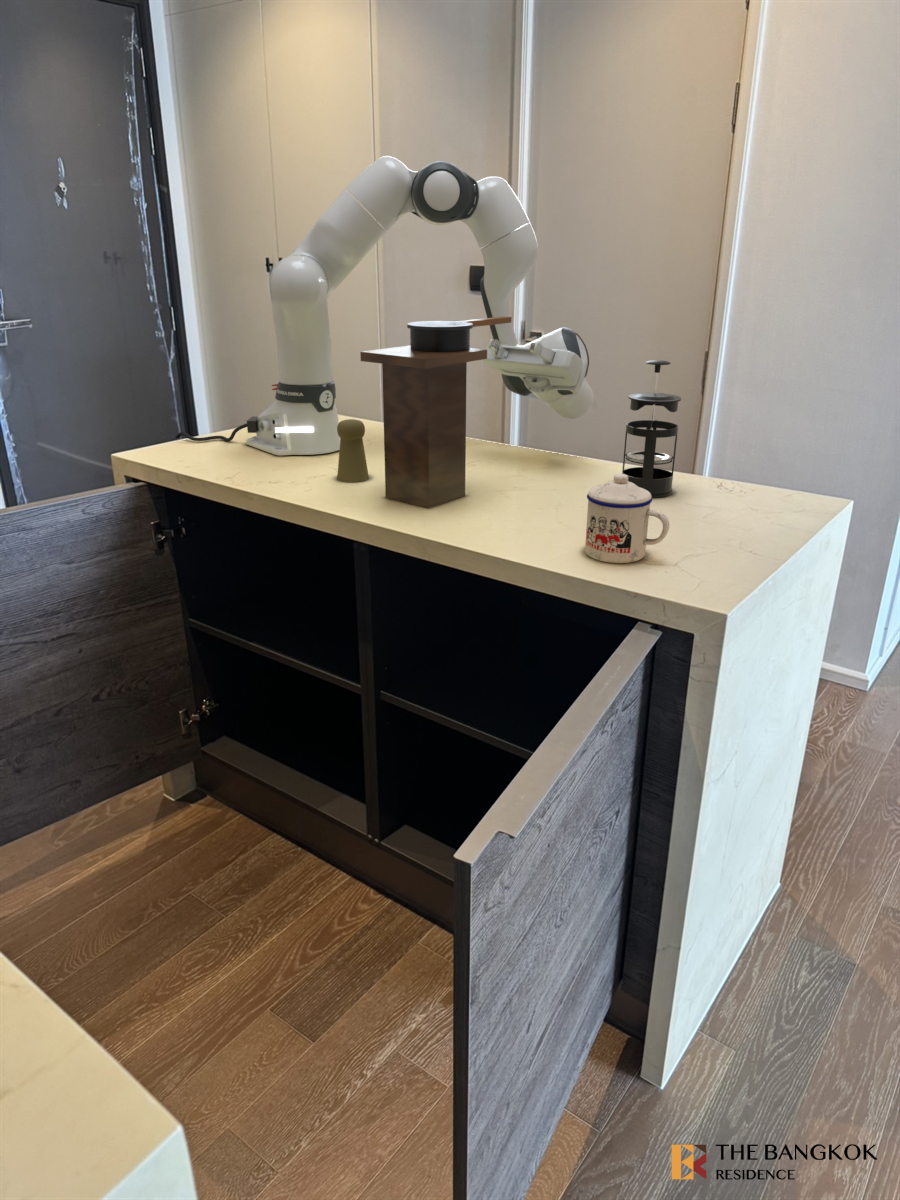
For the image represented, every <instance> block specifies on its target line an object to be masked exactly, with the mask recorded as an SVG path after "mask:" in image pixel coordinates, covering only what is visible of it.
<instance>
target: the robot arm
mask: <svg viewBox="0 0 900 1200" xmlns="http://www.w3.org/2000/svg"><path fill="white" fill-rule="evenodd" d="M407 213H412V214H413V215H415V216H417V217H418V218H421V219H422V220H423V221H425V222H426V223H429V224H431V225H434V226H445V225H449V224H452V223H453V222H456V221H459V222H462V223H464V224H465V225H466V226H467V227H468V228H469V229H470V231H471V232H472V234H473V236H474V238H475V240H476V243H477V245H478V247H479V249H480V252H481V255H482V259H483V266H484V271H483V272H484V273H483V276H482V278H481V279H480V282H479V286H480V287H479V288H480V294H481V299H482V304H483V307H484V311H485V314H486V318H493V317H503V316H505V317H511V315H510V312H509V311H510V310H509V302H510V298H511V296H512V294H513V293H514V291H515V290H516V288H518V287H519V285H520V284H521V283H522V282H523V281H524V279H525V278H526V277H527V276H528V275H529V274H530V272H531V271H532V269H533V268H534V266H535V264H536V263H537V259H538V254H539V243H538V239H537V237H536V233H535V230H534V228H533V226H532V224H531V222H530V219H529V217H528V215H527V212H526V211H525V209H524V207H523V205H522V203H521V201H520V199H519V197H518V196H517V194H516V193H515V192H514V189H513V188H512V187H511V185H510V184H509V183H508V182H507V180H506V179H505V178H503V177H500V176H487V177H485V178H482V179H480V180H478V181H477V180H476V179H475V178H473V177H472V176H470V175H469V174H468V173H466V172H465V171H464V170H462V169H461V168H460V167H458V166H457V165H455V164H454V163H451V162H449V161H445V160H443V161H442V160H438V161H433V162H430V163H428V164H426V165H425V166H424V167H422V169H420V170H417V171H416V170H415V171H414V170H412V169H410V168H408V167H407V166H406V165H405V163H403V162H402V161H401V160H399V159H398V158H396V157H394V156H390V155H383V156H380V157H378V158H377V159H376V160H374V161H373V162H372V163H369V165H368V166H366V168H364V169H363V170H362V171H361V172H360V173H358V175H357V176H355V178H353V180H351V182H350V183H349V184H348V185H347V186H346V187H345V188H344V189H343V190H342V192H341V193H340V194H339V195H338V197H336V199H334V201H333V202H332V204H330V205H329V207H328V208H327V209H326V210H325V211H324V212H323V214H321V216H320V217H318V219H317V221H316V222H315V223H314V225H313V226H312V228H311V229H310V230H309V231H308V232H307V234H306V235H305V236H304V237H303V238H302V240H301V241H300V242H299V243H298V245H296V247H295V248H294V250H293V251H292V252H291V253H290V254H289V255H288V256H286V257H284V258H282V259H280V260H279V261H278V262H277V263H276V264H275V266H274V267H273V268H272V271H271V272H270V275H269V283H268V284H269V294H270V295H269V296H270V302H271V311H272V318H273V325H274V326H273V327H274V332H275V337H276V345H277V347H276V348H277V359H278V373H279V382H278V383H276V384H272V385H271V387H274V388H272V389H271V390H272V391H275V396H274V398H275V399H274V400H273V401H272V403H270V404H269V405H268V406H267V407H266V408H265V409H264V410H263V411H262V412H261V413H260V414H259V415H258V416H251V417H250V418H248V419H247V420H246V423H244V424H242V425H239V426H237V427H236V428H234V429H233V431H232V432H231V434H230V436H229V437H226V436H224V435H211V436H206V437H194V436H192V435H190V434H188V433H186V432H184V431H180V432H179V433H177V434H176V436H174V438H175V439H180V438H181V437H182V436H183V437H185V438H186V439H188V440H190V441H193V442H205V441H212V440H222V441H224V442H231V441H233V439H234V438H235V435H236V434H237V433H238V432H239V431H241V430H243V429H245V428H246V430H247V433H248V434H256V435H255V436H251V437H249V438H246V440H245V445H247V446H250V447H253V448H255V449H258V450H261V451H264V452H267V453H269V454H272V455H275V456H292V455H294V456H296V455H297V456H306V455H307V456H308V455H309V456H311V455H313V456H314V455H323V454H329V453H335V452H337V451H340V439H341V438H340V437H339V435H338V432H337V426H338V424H339V422H340V420H339V414H338V409H337V408H338V407H337V405H336V403H335V400H336V398H337V397H336V396H337V395H336V391H337V387H336V382H335V381H334V379H333V378H334V377H333V375H334V374H333V354H332V339H331V331H330V329H331V328H330V319H329V307H328V306H329V305H328V298H329V297H330V296H331V294H332V293H333V292H334V291H335V290H336V289H337V288H338V287H339V286H340V284H341V283H342V282H343V281H344V280H345V279H346V278H347V277H348V276H349V274H351V272H352V271H353V270H354V269H355V268H356V267H357V265H358V264H359V263H360V262H361V261H362V260H363V259H364V258H365V257H366V256H367V254H369V252H370V251H371V250H372V249H373V248H374V247H375V246H376V244H378V242H380V240H381V239H382V238H383V237H384V236H385V234H386V233H387V232H388V231H389V230H390V229H391V228H392V226H394V224H396V222H397V221H398V220H399V219H400V218H402V217H403V216H404V215H405V214H407ZM488 326H489V329H490V332H491V336H492V338H490V339H489V341H488V344H487V346H486V347H485V350H487V359H483V360H482V362H483V363H484V364H485V365H486V366H488V367H489V368H491V369H492V370H494V371H495V372H497V373H499V374H500V375H501V378H502V381H503V383H504V385H505V387H506V388H507V390H508V391H510V392H512V393H514V394H516V395H520V396H523V397H527V396H529V395H531V394H533V395H534V396H535V397H537V398H538V399H539V400H540V401H542V402H544V403H545V405H546V406H547V407H548V408H550V409H551V410H552V411H553V412H554V413H556V414H558V415H559V416H561V417H562V418H565V419H569V420H576V419H579V418H581V417H583V416H585V415H586V414H587V413H589V411H591V410H592V407H593V406H594V402H595V395H594V392H593V390H592V388H591V386H590V384H589V382H588V379H587V375H588V372H589V368H590V367H589V366H590V355H589V352H588V351H589V350H588V348H587V346H586V344H585V342H584V340H583V338H581V336H580V335H579V333H577V332H576V331H574V330H573V329H571V328H569V327H566V326H562V327H560V328H557V329H555V330H552V331H550V332H548V333H546V334H544V335H541V336H540V337H538V338H536V339H534V340H532V341H530V342H527V343H525V344H522V345H521V344H519V343H518V341H517V336H516V333H515V329H514V325H513V321H511V323H503V324H495V325H488Z"/></svg>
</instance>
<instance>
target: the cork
mask: <svg viewBox="0 0 900 1200" xmlns="http://www.w3.org/2000/svg"><path fill="white" fill-rule="evenodd" d="M337 432H338V435H339V437H340V438H341V439H340V450H338V451H339V452H338V453H339V454H338V463H337V464H338V465H337V477H336V479H337V480H338V481H340V482H345V483H360V482H364V481H367V480H369V479H370V476H369V470H368V463H367V458H366V452H365V446H364V440H363V438H364V436H365V434H366V427H365V424H364V422H363V421H361V420H359V419H355V418H354V419H353V418H352V419H350V418H349V419H343V420H340V421H339V424H338V426H337Z"/></svg>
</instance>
